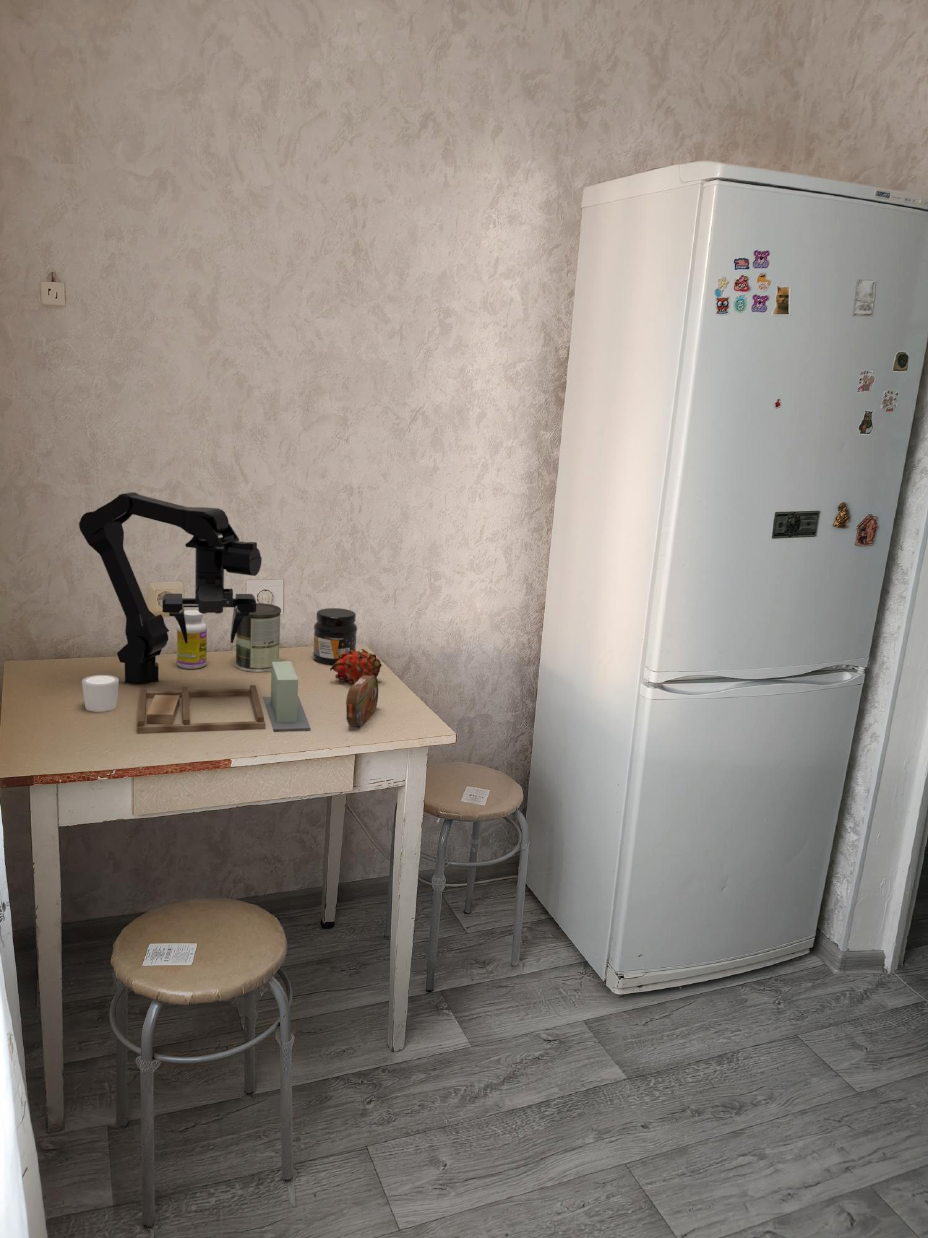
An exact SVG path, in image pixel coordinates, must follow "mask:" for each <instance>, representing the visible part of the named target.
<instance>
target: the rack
mask: <svg viewBox="0 0 928 1238" xmlns="http://www.w3.org/2000/svg"><path fill="white" fill-rule="evenodd" d="M258 692H259V691H258V689H257V685H255V684H252V685H251V684H250V685H249V688H233V689H230V688H226V689H225V688H224V689H190V690H189V686H181V689H179V690H148V689H147V687H140V690H139V701H138V711H137V712H138V713H137V734H139V735H140V734H162V733H163V734H164V733H166V734H167V733H190V732H193V733H194V732H217V731H218V732H219V731H222V732H223V731H245V730H265V729H266V721H265V716H264V712H263V707H262V704H261V700H260V697H259V693H258ZM155 695H180V699H181V703H182V704H181V705H182V706H181V707H182V723H173V724H146V717H147V713H146V712H147V699H149V700H151V699H152V700H153V698H154V696H155ZM221 697H223V698H225V697H226V698H227V697H228V698H229V697H249V699H250V701H251V706H252V709H253V710H252V711H253V714H254V719H255V720H254V721H252V720H251V721H227V722H225V721H224V722H221V721H220V722H198V723H197V722H196V723H193V722H192V723H191V715H190V699H191V698H221Z"/></svg>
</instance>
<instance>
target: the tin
mask: <svg viewBox="0 0 928 1238" xmlns="http://www.w3.org/2000/svg"><path fill="white" fill-rule="evenodd" d="M378 699H379V682H378V677H376V676H374V675H373V676H367V675H364V676H361V677H360V678H359V679H358V680H357V681H356V682H355V683H354V682H353V684H352V685H351V686H350V688H349V689H348V692H347V695H346V700H345V704H346V705H345V706H346V708H345V709H346V722H347V724H348V725H350V726H356V727H357V726H358V727H364V725H365V724H366V723H368V721H369V720H370V718H371V717H372V716H373V715H374V714H375V711H376V710H377V706H378V702H379V701H378Z"/></svg>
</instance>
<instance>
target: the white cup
mask: <svg viewBox="0 0 928 1238" xmlns="http://www.w3.org/2000/svg"><path fill="white" fill-rule="evenodd" d="M119 681H120V679H119V677H117V676H114V675H109V674H97V675H96V674H95V675H90V676H86V677H84V678H82V680H81V685H82V693H83V700H84V708H85V710H87V711H90V712H95V713H104V712H110V711H112V710H115V709H116V708H117V705H118V695H119V683H120V682H119Z"/></svg>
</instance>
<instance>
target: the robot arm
mask: <svg viewBox="0 0 928 1238" xmlns="http://www.w3.org/2000/svg"><path fill="white" fill-rule="evenodd" d="M133 515H134V516H137V517H141V518H146V519H149V520H152V521H157V522H160V523H165V524H169V525H172V526H176V527H178V528H180V529H182V530H183V531H184V532H185V533H187V534H189V535H191V536H192V538H191V539H190V540H188V541H187V542H186V543H185V544H184V546H185V547H186V548H193V549H195V567H194V568H195V572H194V573H195V574H194V575H195V576H194V577H195V578H194V579H195V581H194V582H195V584H194V585H195V587H194V588H195V594H194V595H195V597H194V598H193V597H187V598H186V597H183V593H165V594H163V595H162V599H161V600H162V603H161V605H162V609H161V610H162V613H165V614H166V613H167V614H168V616H169V617H174V619H175V620H176V622H177V623H178V624H179V626H180V628H181V631H182V634H183V637H184V640H185V643H187V642H188V637H187V629H186V621H185V614H184V611H185V609H184V608H198V610H197V611H199V612H200V613H203V615H204V614H210V613H213V614H222V613H223V612H224V608H233V610H232V611H233V612H232V619H231V626H230V644H233V643H234V641H235V638H236V633H237V630H238V627H239V625H240V623H241V621H242V619H243V618H244V617H245V616H249V615H250V613H254V612H256V603H257V599H256V597H255V595H254V594H253V593H235V597H234V590H233V588H225V571H226V572H227V573H228V574H235V575H243V576H244V575H245V576H250V577H251V576H252V577H256V576H257V575H259V573H260V571H261V567H262V560H263V559H262V558H263V557H262V556H261V552H260V550H259V548H258V543H257V542H256V541H247V542H246V541H240V539H239V537H238V535H237V533H236V532H235V531H234V529H233V527H232V526H231V524H230V522H229V518H228V516H227V514H226V512H225V511H224V510H223V509H222V508H221V509H220V508H218V507H205V506H203V507H201V506H200V507H195V506H194V507H193V506H184V505H180V504H176V503H172V502H169V501H165V500H161V499H158V498H157V499H156V498H154V497H150V496H146V495H141V494H139V493H137V492H133V491H131V492H125V493H121V494H118V496H117V497H115V498H114V499H112V500H111V501H109V502H108V503H106V504H104V505H102V506H100V507H98V508H97V509H96V510H93V511H87V512H85V513H84V514H83V515H82V516H81V518H80V521H79V522H78V527H79V531H80V533H81V535H82V537H84V539H85V541H86V543H87V544H88V545H89V547H91V548H92V549H93V550H94V551H95V552H96V553H97V554H99V556H100V558H101V561H102V563H103V566H104V568H105V570H106V573H107V575H108V577H109V580H110V582H111V585H112V587H113V589H114V592H115V594H116V596H117V599H118V602H119V605H120V606H121V609H122V612H123V613H124V616H125V620H126V621H125V632H124V633H125V638H126V642H127V643H126V644H125V645H124V646H123V647H122V648H121V649H119V651H118V652H117V653H116V655H117V658H118V660H119V663H122V664H124V683H125V684H131V685H148V684H152V683H159V679H160V677H159V675H160V674H159V663H158V662H156V657H158V656H160V655H161V652H162V650H163V649H164V648H166V646H167V643H168V641H169V634H168V632H170V630H169V628H168V627H167V626H166V622H165V619H164V616H163V615H162V614H158V615H155V614H154V613H153V612H151V610H150V609H149V607H148V604H147V602H146V600H145V598H144V597H145V596H144V595H143V593H142V590H141V588H140V585H139V583H138V580H137V578H136V576H135V573H134V570H133V568H132V566H131V563H130V561H129V558H128V556H127V553H126V551H125V549H124V539H125V532H124V528H123V524H124V523H126V522H127V521H128V520H129V519H131V517H132V516H133ZM178 624H177V625H178Z"/></svg>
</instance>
